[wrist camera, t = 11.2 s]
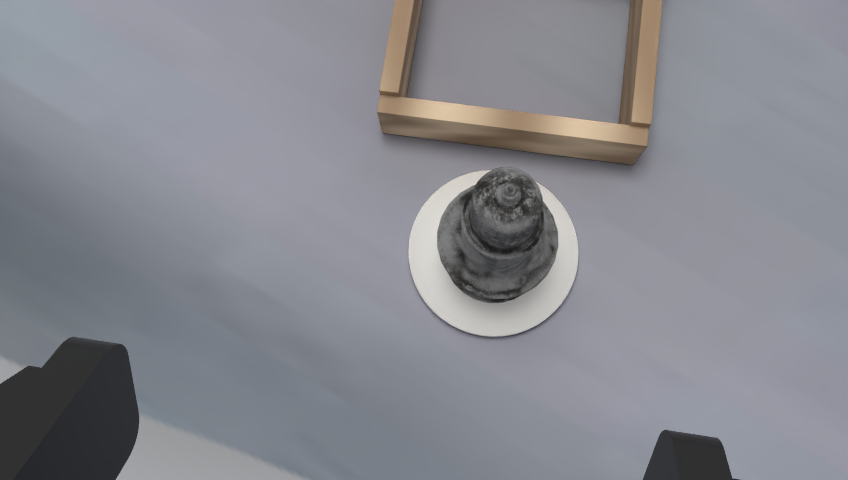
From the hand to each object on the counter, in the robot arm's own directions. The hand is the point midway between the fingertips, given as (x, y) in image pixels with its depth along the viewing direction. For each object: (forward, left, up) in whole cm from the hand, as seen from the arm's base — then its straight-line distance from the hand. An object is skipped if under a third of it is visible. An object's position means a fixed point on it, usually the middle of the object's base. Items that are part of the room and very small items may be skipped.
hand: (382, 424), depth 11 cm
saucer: (+2, +9, -28) cm, 29 cm away
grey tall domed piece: (+2, +9, -27) cm, 29 cm away
